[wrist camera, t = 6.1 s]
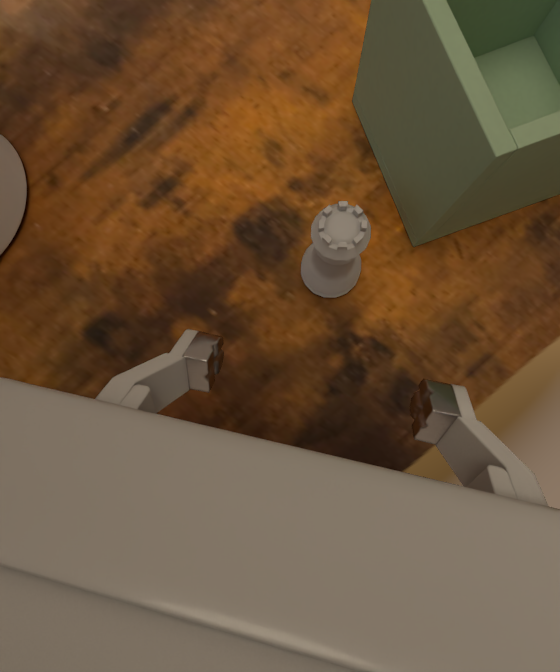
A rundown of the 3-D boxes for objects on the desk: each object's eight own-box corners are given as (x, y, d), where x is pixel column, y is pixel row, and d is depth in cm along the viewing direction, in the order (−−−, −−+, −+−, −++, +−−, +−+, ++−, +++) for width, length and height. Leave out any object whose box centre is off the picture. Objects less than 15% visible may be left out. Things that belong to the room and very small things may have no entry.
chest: (605, 177, 24) (840, 30, 13) (412, 247, 24) (496, 156, 14) (531, 33, 25) (691, -200, 15) (351, 101, 26) (385, -79, 15)
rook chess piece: (370, 279, 24) (404, 235, 16) (320, 310, 24) (330, 282, 16) (338, 231, 25) (355, 167, 17) (289, 262, 25) (283, 212, 17)
